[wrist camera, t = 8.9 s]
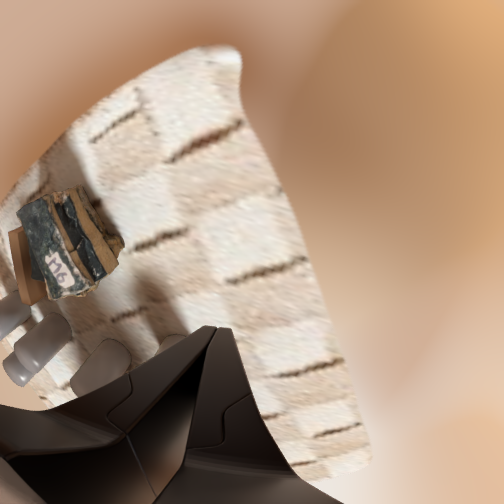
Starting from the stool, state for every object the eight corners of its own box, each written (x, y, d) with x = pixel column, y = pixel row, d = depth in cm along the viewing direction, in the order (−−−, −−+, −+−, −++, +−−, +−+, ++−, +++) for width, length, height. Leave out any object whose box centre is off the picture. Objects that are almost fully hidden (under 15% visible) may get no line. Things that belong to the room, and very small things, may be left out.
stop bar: (49, 292, 25) (31, 305, 22) (39, 290, 25) (21, 303, 22) (38, 224, 23) (17, 232, 20) (29, 223, 23) (8, 232, 20)
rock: (33, 212, 23) (-10, 227, 18) (102, 173, 21) (55, 182, 16) (66, 295, 25) (30, 323, 20) (139, 274, 23) (104, 306, 18)
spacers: (202, 398, 27) (187, 445, 21) (27, 349, 29) (-1, 375, 23) (199, 327, 24) (177, 374, 19) (9, 288, 26) (-26, 310, 20)
